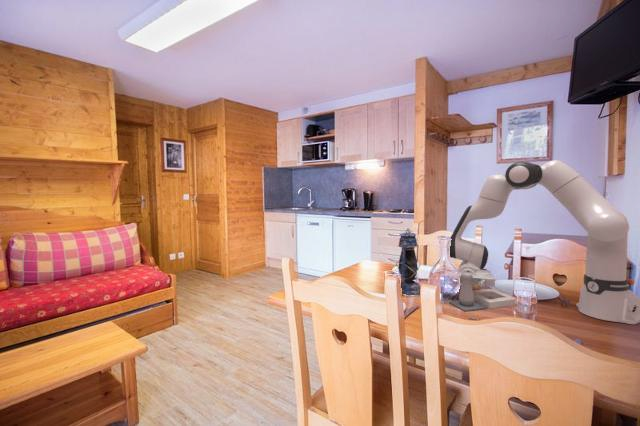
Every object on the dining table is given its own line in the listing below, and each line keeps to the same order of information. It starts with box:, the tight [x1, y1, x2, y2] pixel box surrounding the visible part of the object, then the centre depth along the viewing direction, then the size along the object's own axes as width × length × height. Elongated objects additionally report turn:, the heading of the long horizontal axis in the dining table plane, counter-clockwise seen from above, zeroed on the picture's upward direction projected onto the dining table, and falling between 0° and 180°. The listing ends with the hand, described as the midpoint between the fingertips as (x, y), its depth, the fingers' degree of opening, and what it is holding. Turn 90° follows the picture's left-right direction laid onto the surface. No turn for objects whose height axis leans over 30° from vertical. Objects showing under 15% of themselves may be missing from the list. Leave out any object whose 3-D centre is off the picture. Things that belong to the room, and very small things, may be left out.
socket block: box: [473, 288, 516, 309], centre depth 132 cm, size 14×14×2 cm
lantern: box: [395, 228, 421, 296], centre depth 145 cm, size 15×12×30 cm
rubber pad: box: [448, 299, 487, 313], centre depth 127 cm, size 10×10×1 cm
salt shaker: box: [458, 272, 475, 306], centre depth 126 cm, size 6×6×13 cm
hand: (467, 283), depth 125 cm, fingers open, 8 cm apart
